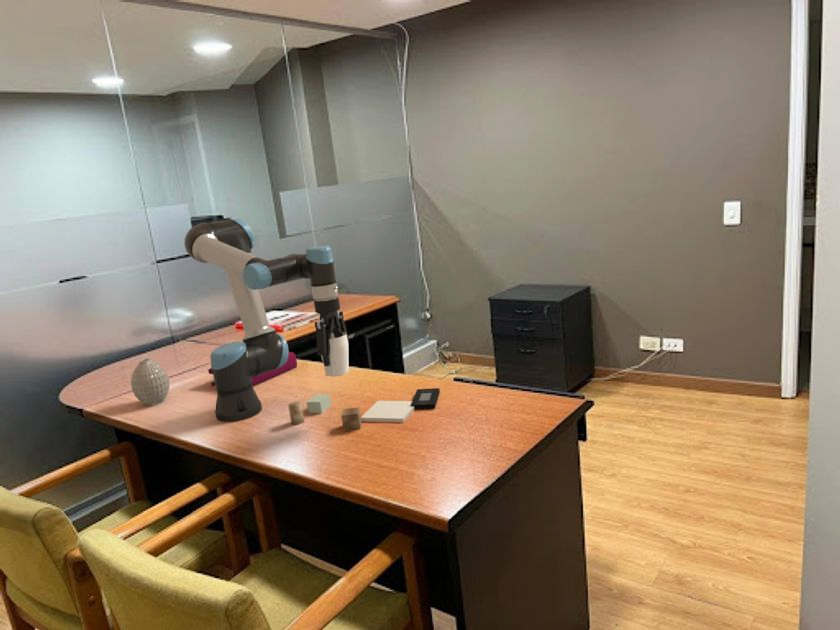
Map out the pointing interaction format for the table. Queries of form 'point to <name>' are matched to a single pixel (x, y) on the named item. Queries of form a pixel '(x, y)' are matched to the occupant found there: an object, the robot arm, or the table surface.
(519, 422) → the table surface
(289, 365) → the book
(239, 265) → the robot arm
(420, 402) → the vhs tape
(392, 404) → the tile
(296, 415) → the oak cylinder
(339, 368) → the cup
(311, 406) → the sage block
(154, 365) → the vase
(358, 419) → the walnut cube
